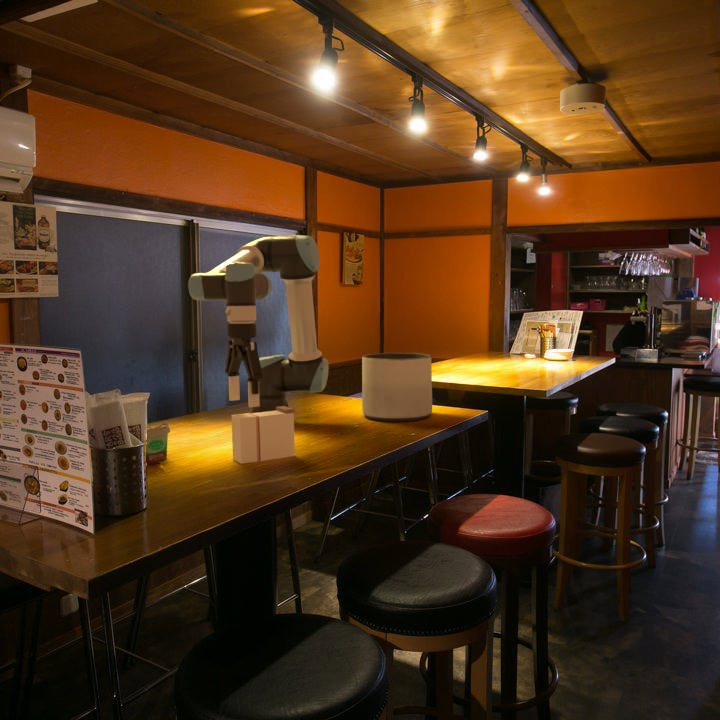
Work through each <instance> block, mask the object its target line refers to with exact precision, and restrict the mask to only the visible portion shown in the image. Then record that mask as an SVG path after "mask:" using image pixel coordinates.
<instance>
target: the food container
mask: <svg viewBox="0 0 720 720" xmlns="http://www.w3.org/2000/svg"><path fill="white" fill-rule="evenodd" d="M146 427H147V444H146V463H147V466H146V467H151V466H152V467H153V466H159V465H161V463H160V462H163V461H165V460H167V458H168V457H167V455H168V439H169V437H168V436H169V435H168V434H169V433H171V428H170V425H169V423H168V422H165V421H162V423H161V425H157V426H146Z"/></svg>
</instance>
